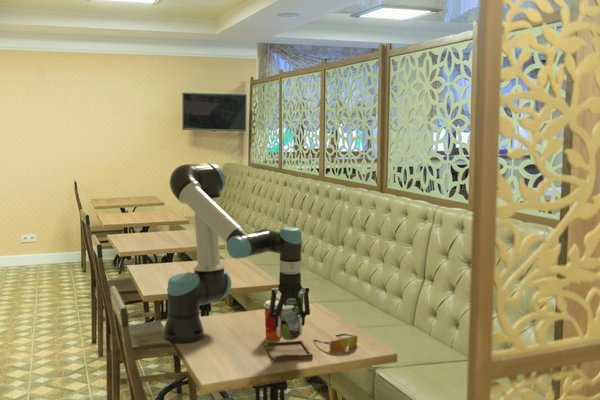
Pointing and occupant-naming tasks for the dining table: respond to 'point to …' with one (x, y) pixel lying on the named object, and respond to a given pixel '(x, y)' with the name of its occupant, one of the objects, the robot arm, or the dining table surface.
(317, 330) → the dining table surface
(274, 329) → the paper cup
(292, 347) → the far tray
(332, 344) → the sunglasses
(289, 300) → the coffee box
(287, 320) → the beverage can
